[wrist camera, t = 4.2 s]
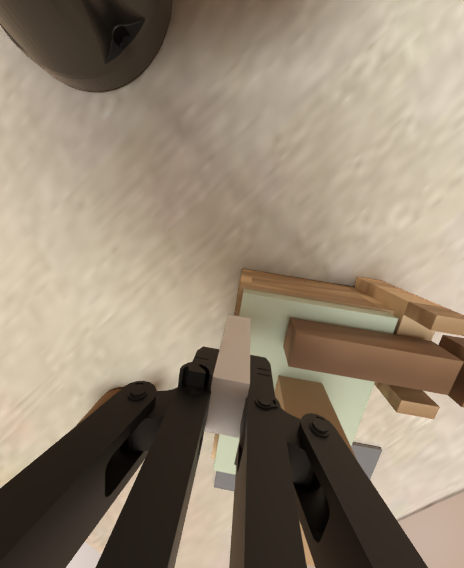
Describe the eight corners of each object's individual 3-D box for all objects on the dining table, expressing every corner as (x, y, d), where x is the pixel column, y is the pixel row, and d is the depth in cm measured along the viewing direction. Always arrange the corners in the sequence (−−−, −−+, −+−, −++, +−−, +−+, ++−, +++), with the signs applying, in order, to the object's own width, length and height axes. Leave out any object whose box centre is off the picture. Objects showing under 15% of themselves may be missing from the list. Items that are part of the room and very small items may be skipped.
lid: (244, 285, 19) (236, 351, 9) (381, 307, 18) (535, 404, 8) (216, 447, 23) (191, 611, 13) (325, 469, 23) (383, 655, 13)
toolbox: (244, 258, 24) (238, 282, 14) (381, 280, 23) (480, 322, 13) (220, 404, 29) (204, 499, 19) (333, 425, 28) (378, 535, 18)
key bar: (290, 309, 16) (299, 327, 13) (463, 338, 16) (510, 363, 13) (281, 350, 17) (287, 375, 14) (444, 379, 17) (484, 411, 14)
